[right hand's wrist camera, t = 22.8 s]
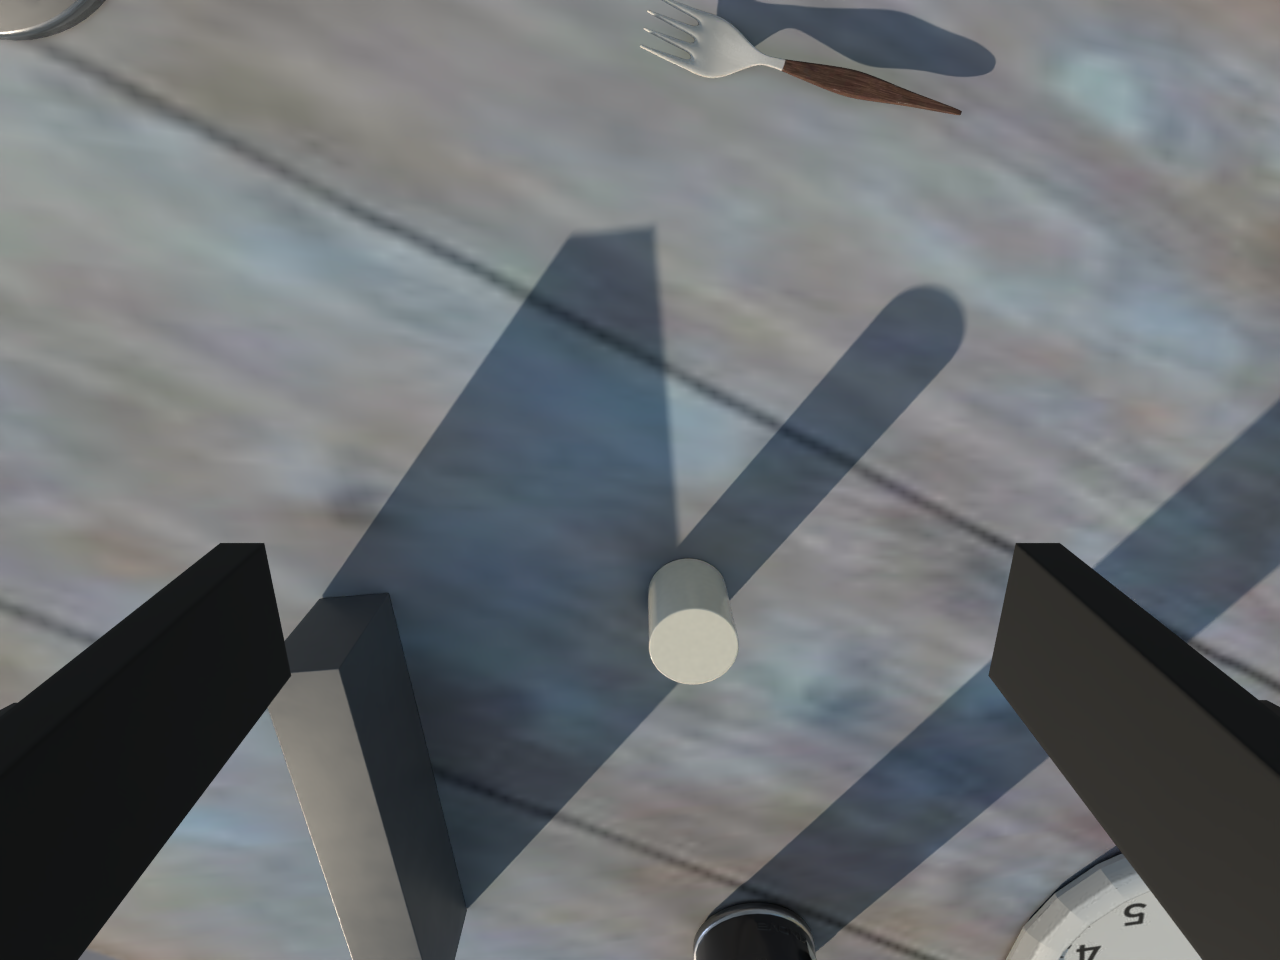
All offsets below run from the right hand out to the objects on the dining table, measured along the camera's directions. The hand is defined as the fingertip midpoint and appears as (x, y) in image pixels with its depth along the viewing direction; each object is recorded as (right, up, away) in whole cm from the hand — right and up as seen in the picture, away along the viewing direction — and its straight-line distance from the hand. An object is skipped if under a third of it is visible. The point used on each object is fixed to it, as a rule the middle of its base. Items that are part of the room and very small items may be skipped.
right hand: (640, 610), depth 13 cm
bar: (-17, -18, +37) cm, 45 cm away
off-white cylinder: (+3, -5, +33) cm, 33 cm away
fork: (+8, +22, +22) cm, 33 cm away
